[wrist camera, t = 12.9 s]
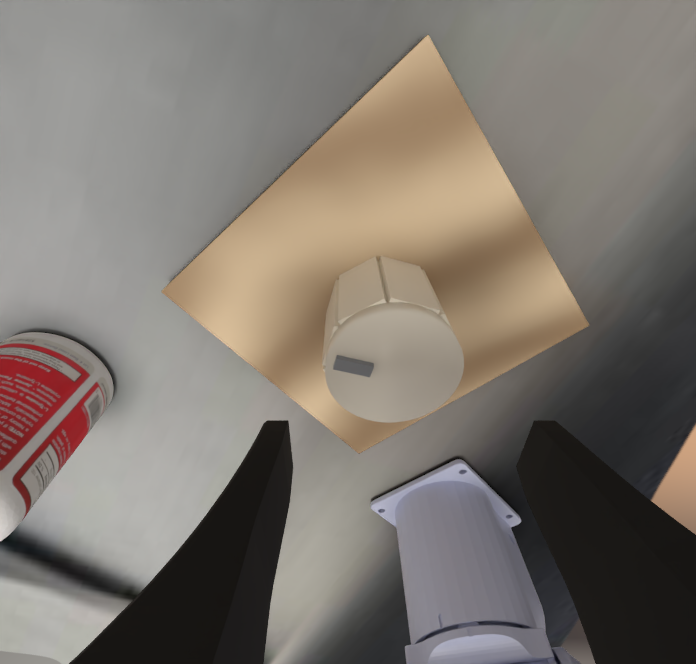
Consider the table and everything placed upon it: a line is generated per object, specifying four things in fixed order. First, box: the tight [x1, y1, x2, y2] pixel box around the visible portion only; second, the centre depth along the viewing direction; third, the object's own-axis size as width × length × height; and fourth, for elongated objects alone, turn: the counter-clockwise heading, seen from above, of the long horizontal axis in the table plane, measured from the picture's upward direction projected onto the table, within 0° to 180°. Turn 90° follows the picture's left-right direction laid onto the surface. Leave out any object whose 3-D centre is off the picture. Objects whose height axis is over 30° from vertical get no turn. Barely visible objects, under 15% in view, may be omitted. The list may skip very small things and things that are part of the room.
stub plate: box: [161, 35, 589, 453], centre depth 19 cm, size 15×15×1 cm
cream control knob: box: [322, 256, 464, 423], centre depth 16 cm, size 5×5×5 cm
